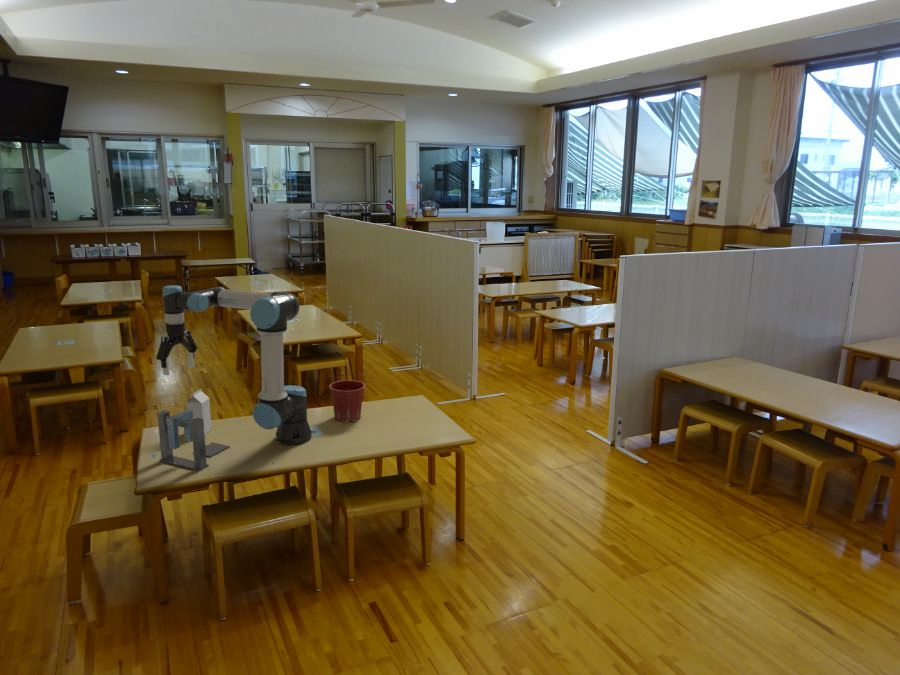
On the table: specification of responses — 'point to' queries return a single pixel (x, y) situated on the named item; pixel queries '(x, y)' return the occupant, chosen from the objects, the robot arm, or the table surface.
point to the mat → (214, 449)
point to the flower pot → (347, 399)
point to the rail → (198, 443)
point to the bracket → (173, 428)
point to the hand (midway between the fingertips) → (179, 370)
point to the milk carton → (200, 408)
